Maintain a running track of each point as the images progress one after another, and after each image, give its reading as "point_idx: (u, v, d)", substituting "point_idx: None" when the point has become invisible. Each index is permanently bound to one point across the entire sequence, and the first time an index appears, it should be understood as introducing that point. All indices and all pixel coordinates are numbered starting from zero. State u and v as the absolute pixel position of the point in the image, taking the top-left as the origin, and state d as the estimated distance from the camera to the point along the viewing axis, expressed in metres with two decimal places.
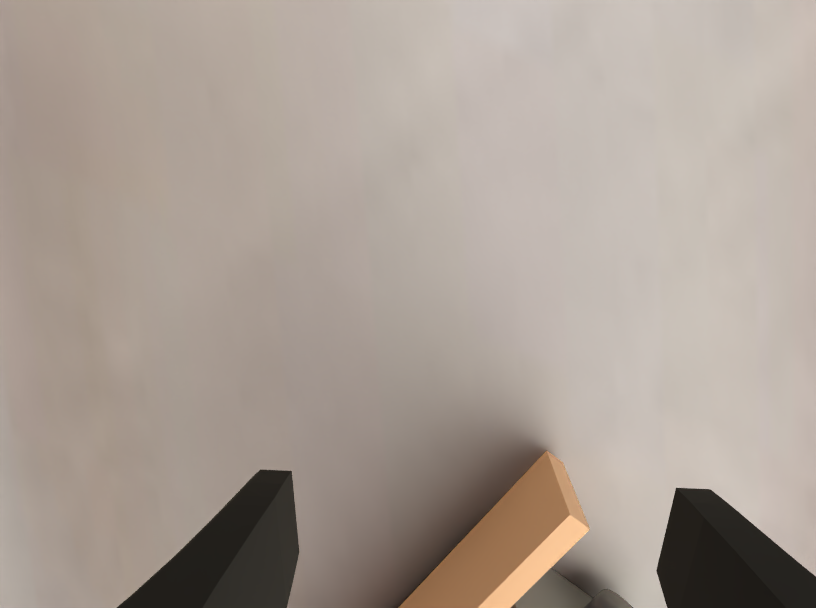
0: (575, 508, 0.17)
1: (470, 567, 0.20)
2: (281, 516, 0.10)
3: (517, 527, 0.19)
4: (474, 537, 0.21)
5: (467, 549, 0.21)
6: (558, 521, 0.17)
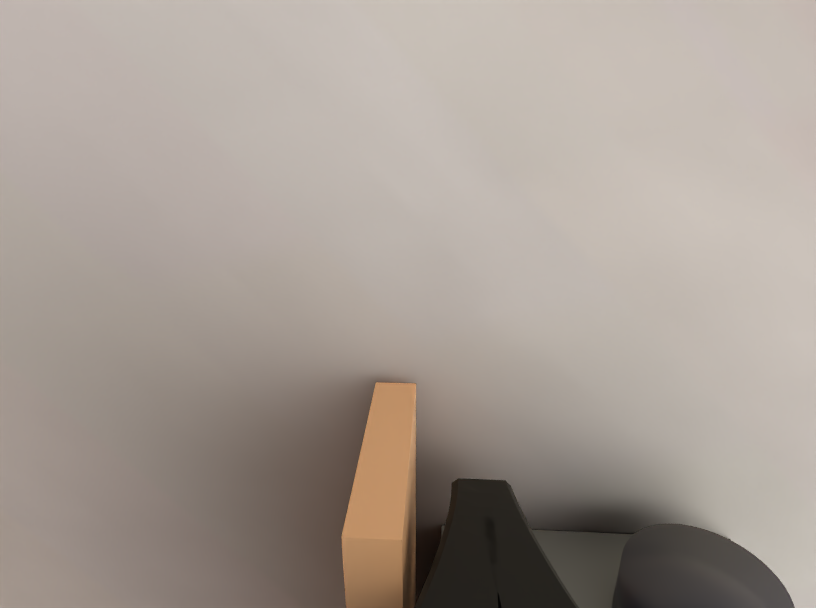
0: (380, 500, 0.08)
1: None
2: None
3: None
4: None
5: None
6: (345, 552, 0.08)
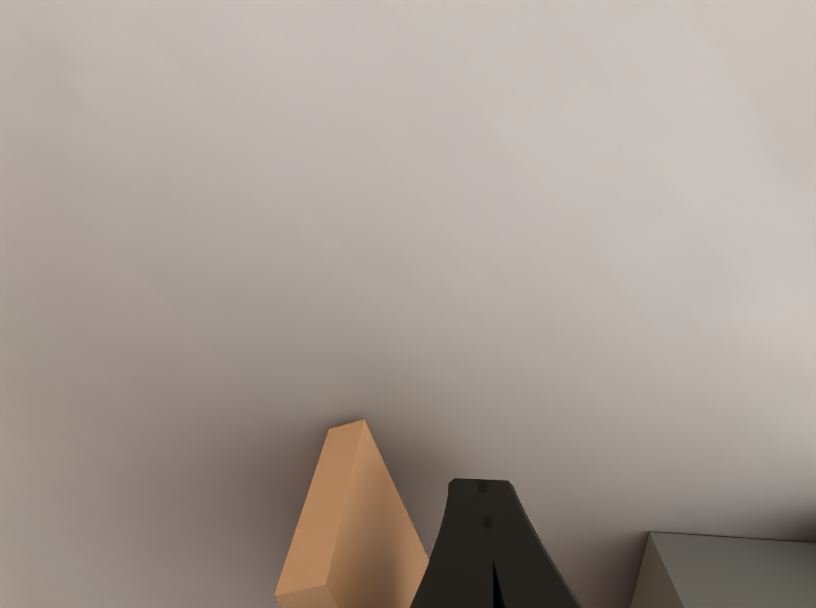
0: (312, 550, 0.08)
1: None
2: None
3: None
4: None
5: None
6: (291, 607, 0.08)
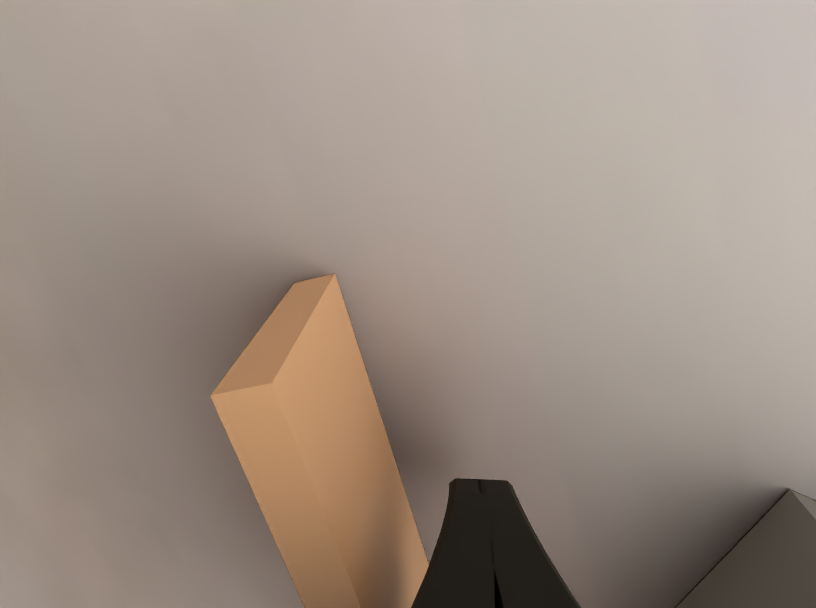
0: (261, 360, 0.07)
1: None
2: None
3: None
4: None
5: None
6: (231, 420, 0.07)
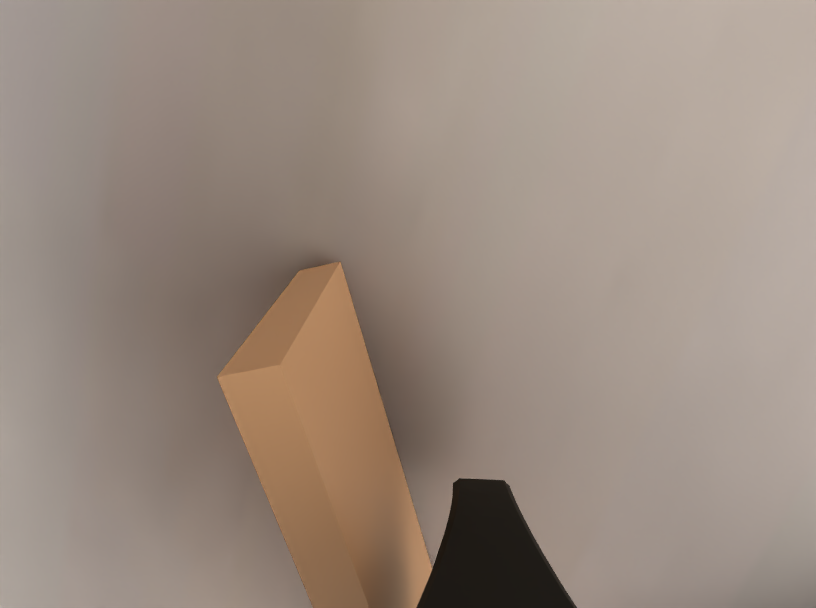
0: (268, 344, 0.07)
1: None
2: None
3: None
4: None
5: None
6: (237, 403, 0.07)
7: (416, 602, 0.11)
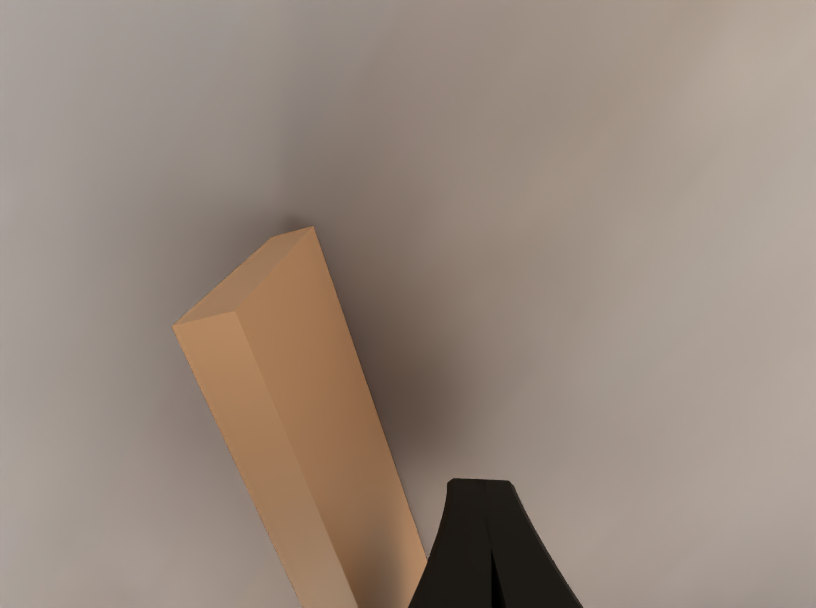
0: (227, 296, 0.07)
1: None
2: None
3: None
4: None
5: None
6: (195, 354, 0.07)
7: (401, 573, 0.10)
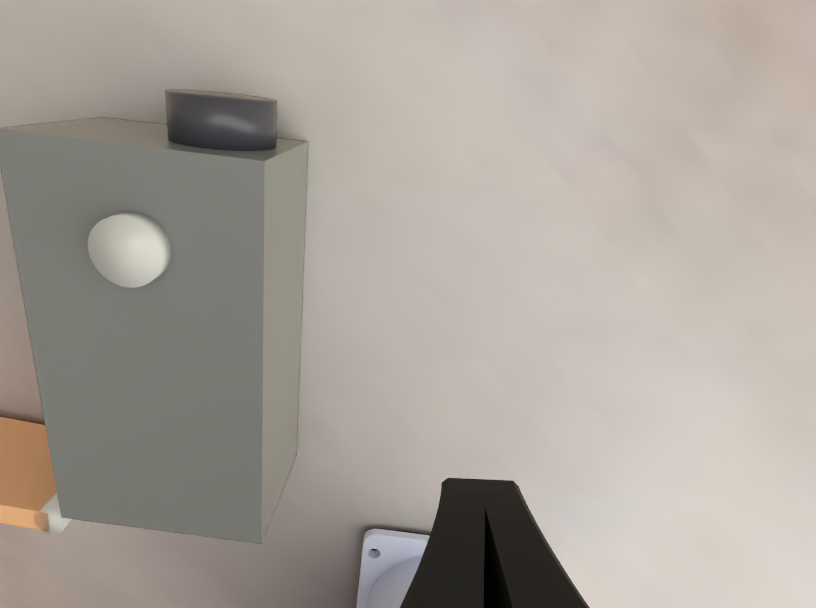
0: None
1: None
2: None
3: None
4: None
5: None
6: None
7: None
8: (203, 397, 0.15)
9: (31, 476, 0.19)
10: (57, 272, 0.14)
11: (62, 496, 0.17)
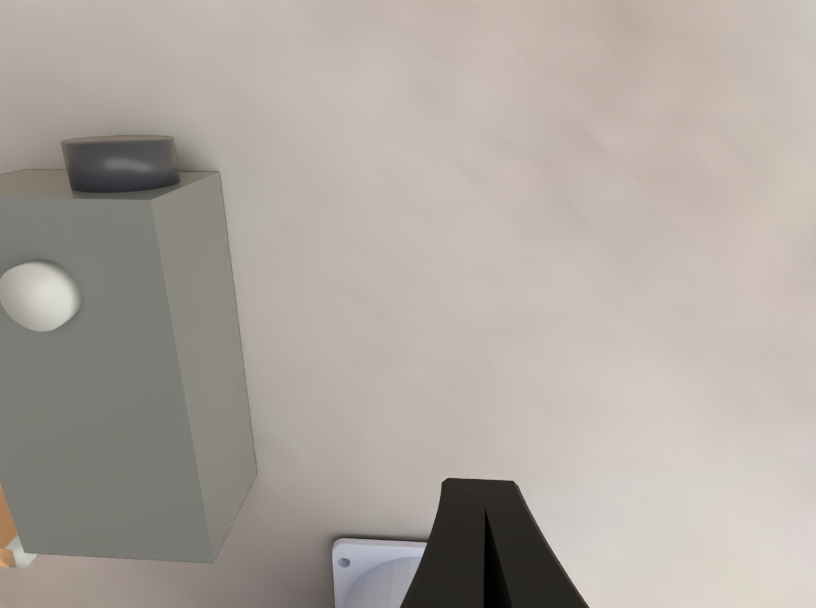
0: None
1: None
2: None
3: None
4: None
5: None
6: None
7: None
8: (134, 427, 0.16)
9: None
10: None
11: (21, 532, 0.18)
